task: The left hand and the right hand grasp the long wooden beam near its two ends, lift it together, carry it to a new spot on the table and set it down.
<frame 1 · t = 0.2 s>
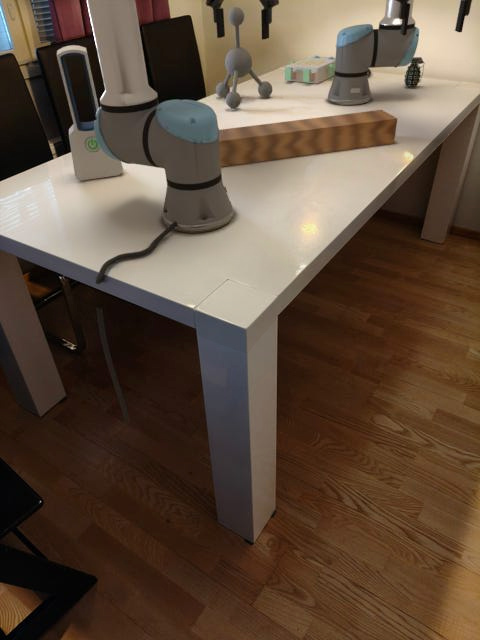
left hand: (242, 38, 129), 27 cm above the table, tool pointing down, fingers open, 13 cm apart
right hand: (430, 33, 122), 27 cm above the table, tool pointing down, fingers open, 13 cm apart
grenade: (411, 87, 188), on the table
decorative block: (311, 78, 209), on the table
molecular model: (245, 101, 184), on the table
electronic device: (100, 173, 131), on the table
long wooden beam: (288, 151, 138), on the table
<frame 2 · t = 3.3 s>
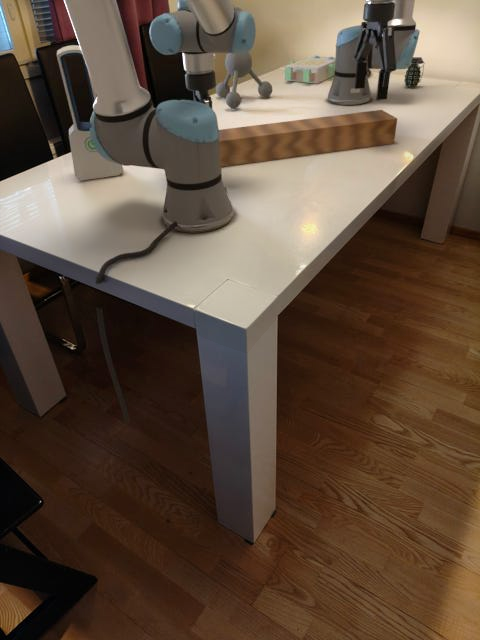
left hand: (207, 160, 134), 1 cm above the table, tool pointing down, fingers closed on long wooden beam, 10 cm apart
right hand: (370, 93, 134), 13 cm above the table, tool pointing down, fingers open, 13 cm apart
long wooden beam: (288, 151, 138), on the table, touching left hand
everything else where it was.
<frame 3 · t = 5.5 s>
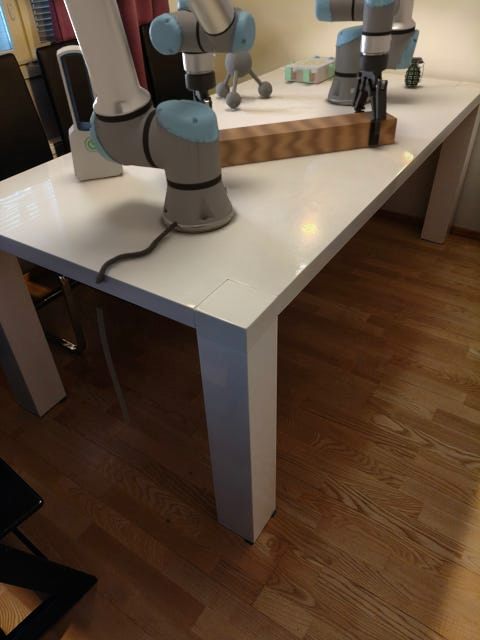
left hand: (207, 160, 134), 1 cm above the table, tool pointing down, fingers closed on long wooden beam, 10 cm apart
right hand: (365, 139, 141), 1 cm above the table, tool pointing down, fingers closed on long wooden beam, 10 cm apart
long wooden beam: (288, 151, 138), on the table, touching left hand, right hand
everything else where it was.
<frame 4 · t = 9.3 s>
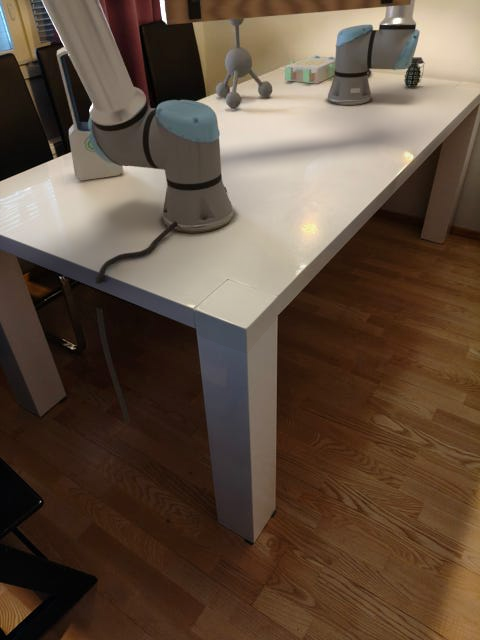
left hand: (191, 16, 114), 34 cm above the table, tool pointing down, fingers closed on long wooden beam, 10 cm apart
right hand: (376, 1, 121), 34 cm above the table, tool pointing down, fingers closed on long wooden beam, 10 cm apart
long wooden beam: (287, 12, 118), point 34 cm above the table, touching left hand, right hand
everything else where it was.
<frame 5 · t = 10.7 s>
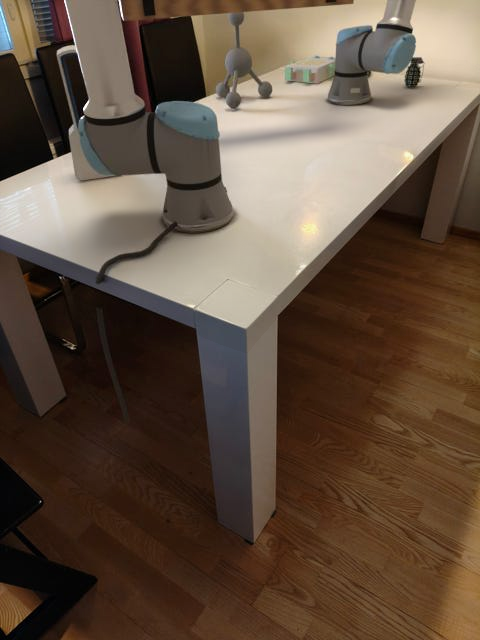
left hand: (148, 13, 123), 35 cm above the table, tool pointing down, fingers closed on long wooden beam, 10 cm apart
right hand: (323, 0, 130), 34 cm above the table, tool pointing down, fingers closed on long wooden beam, 10 cm apart
long wooden beam: (238, 10, 127), point 34 cm above the table, touching left hand, right hand
everything else where it was.
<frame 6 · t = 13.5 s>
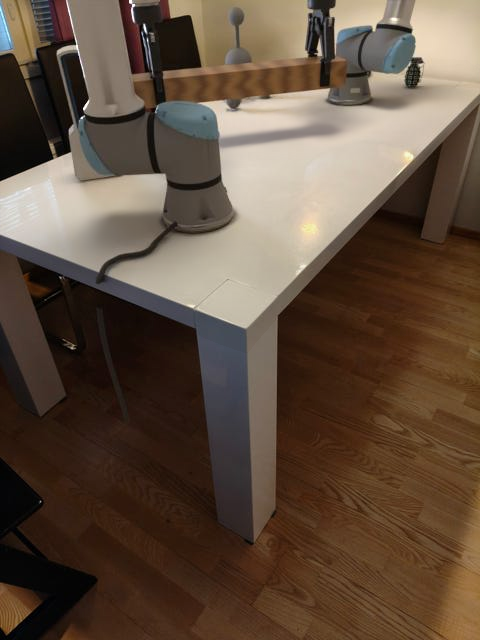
left hand: (159, 99, 135), 14 cm above the table, tool pointing down, fingers closed on long wooden beam, 10 cm apart
right hand: (318, 82, 143), 14 cm above the table, tool pointing down, fingers closed on long wooden beam, 10 cm apart
long wooden beam: (240, 93, 140), point 13 cm above the table, touching left hand, right hand
everything else where it was.
when the left hand's fingers open (2 cm above the table, at t = 15.8 s): long wooden beam drops 1 cm, on the table.
when the right hand's fingers open (2 cm above the table, at t = 15.8 s): long wooden beam drops 1 cm, on the table.
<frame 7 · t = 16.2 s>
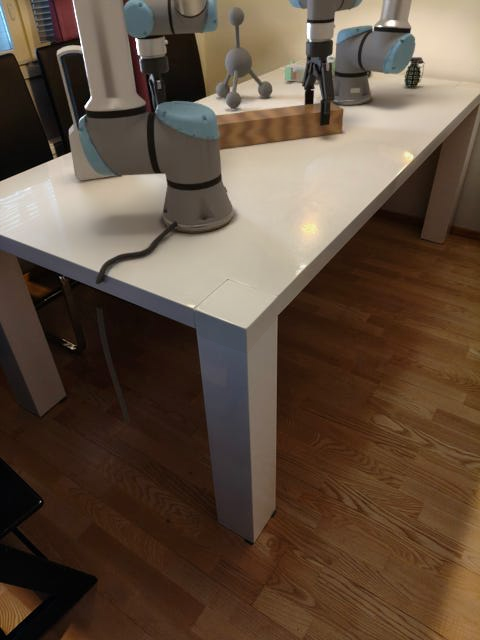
left hand: (164, 137, 142), 4 cm above the table, tool pointing down, fingers open, 13 cm apart
right hand: (316, 118, 149), 4 cm above the table, tool pointing down, fingers open, 13 cm apart
long wooden beam: (243, 140, 148), on the table
everything else where it was.
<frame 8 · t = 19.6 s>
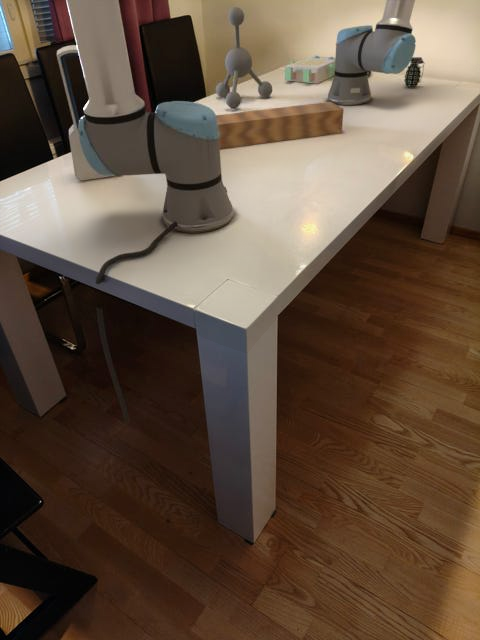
nothing on the table moved.
at the end: long wooden beam inside the target area (0.1 cm from its centre), on the table; long wooden beam tilted 0°; long wooden beam never tilted more than 1° during the clip; both hands held the long wooden beam at the same time; the left hand is holding nothing; the right hand is holding nothing; long wooden beam at rest at the end (0.0 cm/s) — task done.
